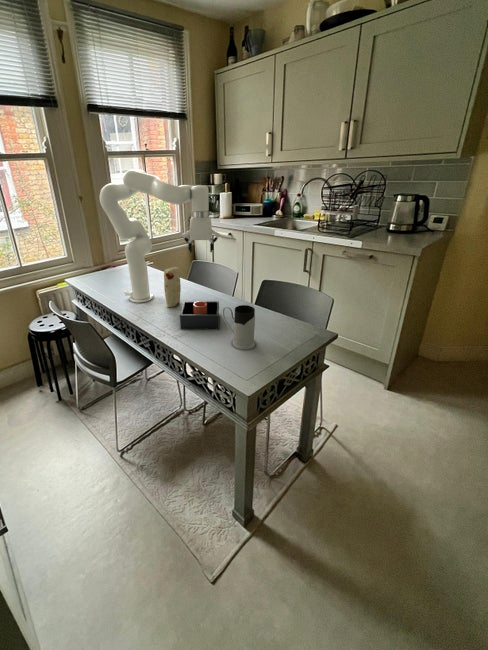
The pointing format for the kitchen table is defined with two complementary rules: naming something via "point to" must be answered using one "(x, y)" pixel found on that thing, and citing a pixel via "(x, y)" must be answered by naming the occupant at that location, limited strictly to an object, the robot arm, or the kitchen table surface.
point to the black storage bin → (200, 316)
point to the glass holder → (243, 326)
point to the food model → (172, 286)
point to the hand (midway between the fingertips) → (201, 251)
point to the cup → (200, 308)
